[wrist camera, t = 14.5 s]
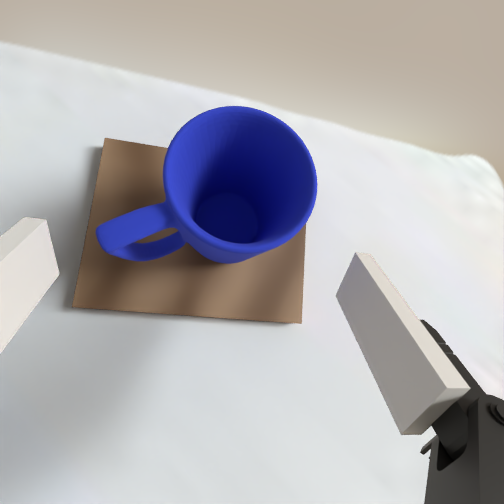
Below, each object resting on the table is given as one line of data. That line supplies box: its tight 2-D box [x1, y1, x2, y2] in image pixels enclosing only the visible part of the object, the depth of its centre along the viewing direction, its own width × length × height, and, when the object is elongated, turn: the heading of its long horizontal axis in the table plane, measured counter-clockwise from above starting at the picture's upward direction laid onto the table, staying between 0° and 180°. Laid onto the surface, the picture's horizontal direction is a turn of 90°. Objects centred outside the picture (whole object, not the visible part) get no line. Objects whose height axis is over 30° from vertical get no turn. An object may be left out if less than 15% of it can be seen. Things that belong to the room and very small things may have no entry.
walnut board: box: [72, 138, 306, 324], centre depth 25 cm, size 18×14×2 cm
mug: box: [96, 106, 317, 264], centre depth 19 cm, size 8×12×10 cm
